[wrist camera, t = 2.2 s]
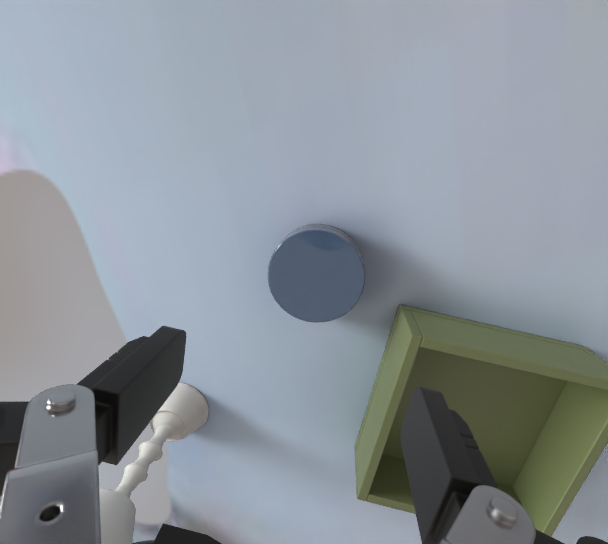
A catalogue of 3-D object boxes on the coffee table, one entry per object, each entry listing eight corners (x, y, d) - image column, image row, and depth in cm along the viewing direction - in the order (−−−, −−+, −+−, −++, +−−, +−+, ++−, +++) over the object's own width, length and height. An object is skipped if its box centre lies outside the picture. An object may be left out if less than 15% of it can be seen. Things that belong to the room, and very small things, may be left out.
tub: (354, 447, 29) (356, 499, 24) (398, 303, 25) (411, 334, 20) (513, 486, 28) (545, 546, 24) (585, 346, 24) (641, 387, 20)
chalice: (220, 378, 28) (37, 697, 11) (221, 444, 30) (67, 799, 13) (136, 368, 29) (-159, 657, 12) (143, 433, 31) (-101, 761, 14)
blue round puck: (267, 298, 26) (260, 311, 24) (282, 215, 24) (276, 220, 22) (350, 317, 26) (351, 332, 23) (372, 234, 24) (376, 241, 21)
